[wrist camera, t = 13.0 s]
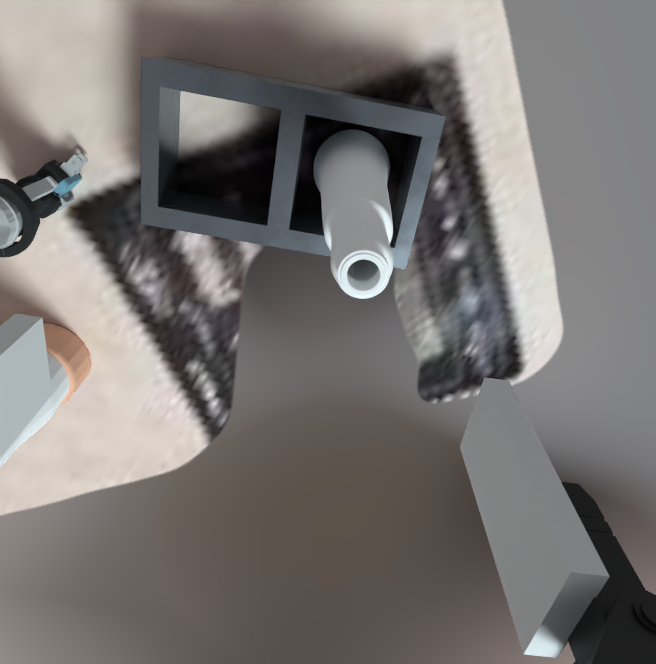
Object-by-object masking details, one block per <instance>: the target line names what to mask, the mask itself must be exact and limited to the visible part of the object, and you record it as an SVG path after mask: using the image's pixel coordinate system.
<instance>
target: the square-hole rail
mask: <svg viewBox="0 0 656 664" xmlns="http://www.w3.org/2000/svg"><path fill="white" fill-rule="evenodd" d="M180 91H186V92H191V93H196V94H201V95H206V96H212V97H217V98H222V99H227V100H233V101H238V102H243V103H248V104H254V105H259V106H264V107H269V108H275V109H280V110H281V118H280V126H279V134H278V142H277V150H276V159H275V167H274V175H273V183H272V191H271V199H270V207H267V206H261V205H255V204H250V203H244V202H239V201H233V200H227V199H222V198H216V197H210V196H205V195H199V194H194V193H188V192H182V191H177V169H178V141H179V113H180ZM308 115H311V116H317V117H322V118H327V119H332V120H338V121H343V122H348V123H353V124H359V125H364V126H369V127H374V128H380V129H385V130H390V131H395V132H400V133H406V134H411V138H410V142H409V146H408V150H407V155H406V159H405V163H404V167H403V171H402V176H401V180H400V184H399V188H398V193H397V197H396V201H395V205H394V209H393V214H392V222H393V235H392V239H391V242H390V247H391V251H392V254H393V267H394V268H400V269H406V266H407V262H408V258H409V254H410V250H411V247H412V243H413V239H414V235H415V231H416V228H417V224H418V220H419V216H420V213H421V209H422V205H423V201H424V197H425V194H426V190H427V186H428V182H429V178H430V175H431V171H432V167H433V163H434V159H435V156H436V152H437V148H438V144H439V140H440V137H441V133H442V129H443V125H444V122H445V118H446V116H444V115H443V114H441V113H439V112H438V111H436V110H434V109H430V108H425V107H420V106H415V105H410V104H405V103H399V102H394V101H389V100H384V99H379V98H374V97H369V96H364V95H358V94H353V93H348V92H343V91H338V90H333V89H328V88H322V87H317V86H312V85H307V84H302V83H297V82H292V81H286V80H281V79H276V78H271V77H266V76H261V75H256V74H250V73H245V72H240V71H235V70H230V69H225V68H220V67H215V66H209V65H204V64H199V63H194V62H189V61H184V60H179V59H173V58H168V57H141V224H145V225H151V226H157V227H163V228H169V229H174V230H180V231H186V232H192V233H198V234H203V235H209V236H215V237H221V238H226V239H232V240H238V241H244V242H250V243H255V244H261V245H267V246H273V247H279V248H284V249H290V250H296V251H302V252H307V253H314V254H319V255H325V256H331V250H330V249H329V247H328V246H327V243H326V241H325V237H324V230H323V220H322V216H317V215H312V214H306V213H300V212H295V211H294V208H295V201H296V194H297V187H298V180H299V173H300V166H301V160H302V153H303V146H304V139H305V132H306V125H307V118H308Z"/></svg>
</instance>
